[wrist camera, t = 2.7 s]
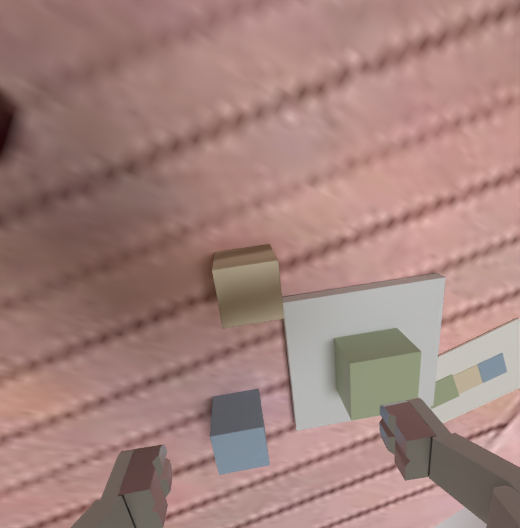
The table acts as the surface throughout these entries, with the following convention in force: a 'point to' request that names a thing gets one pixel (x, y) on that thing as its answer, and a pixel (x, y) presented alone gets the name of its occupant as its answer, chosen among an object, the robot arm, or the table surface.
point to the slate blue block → (238, 432)
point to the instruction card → (477, 371)
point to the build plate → (354, 319)
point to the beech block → (248, 285)
